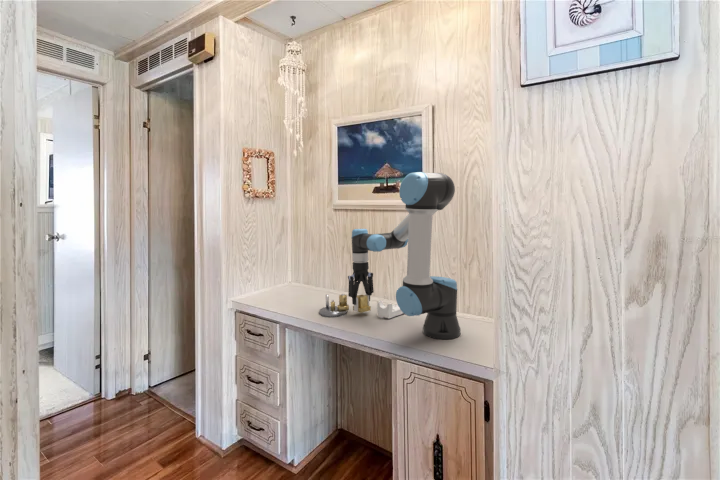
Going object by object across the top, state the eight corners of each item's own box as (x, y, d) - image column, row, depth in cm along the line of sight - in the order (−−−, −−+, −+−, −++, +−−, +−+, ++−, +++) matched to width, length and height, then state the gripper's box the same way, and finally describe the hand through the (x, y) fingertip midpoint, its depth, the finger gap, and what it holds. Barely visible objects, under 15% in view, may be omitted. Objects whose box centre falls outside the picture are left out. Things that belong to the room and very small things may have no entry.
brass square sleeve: (370, 310, 176) (370, 295, 176) (360, 312, 173) (360, 298, 172) (362, 307, 181) (362, 293, 180) (352, 310, 177) (352, 295, 177)
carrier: (352, 313, 180) (352, 294, 179) (329, 319, 171) (328, 299, 170) (337, 307, 190) (337, 289, 189) (314, 312, 182) (314, 294, 181)
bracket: (388, 320, 169) (388, 304, 169) (377, 317, 175) (377, 301, 174) (406, 314, 178) (406, 298, 178) (395, 311, 184) (395, 296, 183)
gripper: (370, 258, 183) (371, 304, 186) (339, 263, 172) (340, 311, 174) (380, 260, 177) (381, 307, 180) (348, 264, 166) (350, 315, 168)
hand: (361, 309), depth 177 cm, fingers closed on brass square sleeve, 6 cm apart
